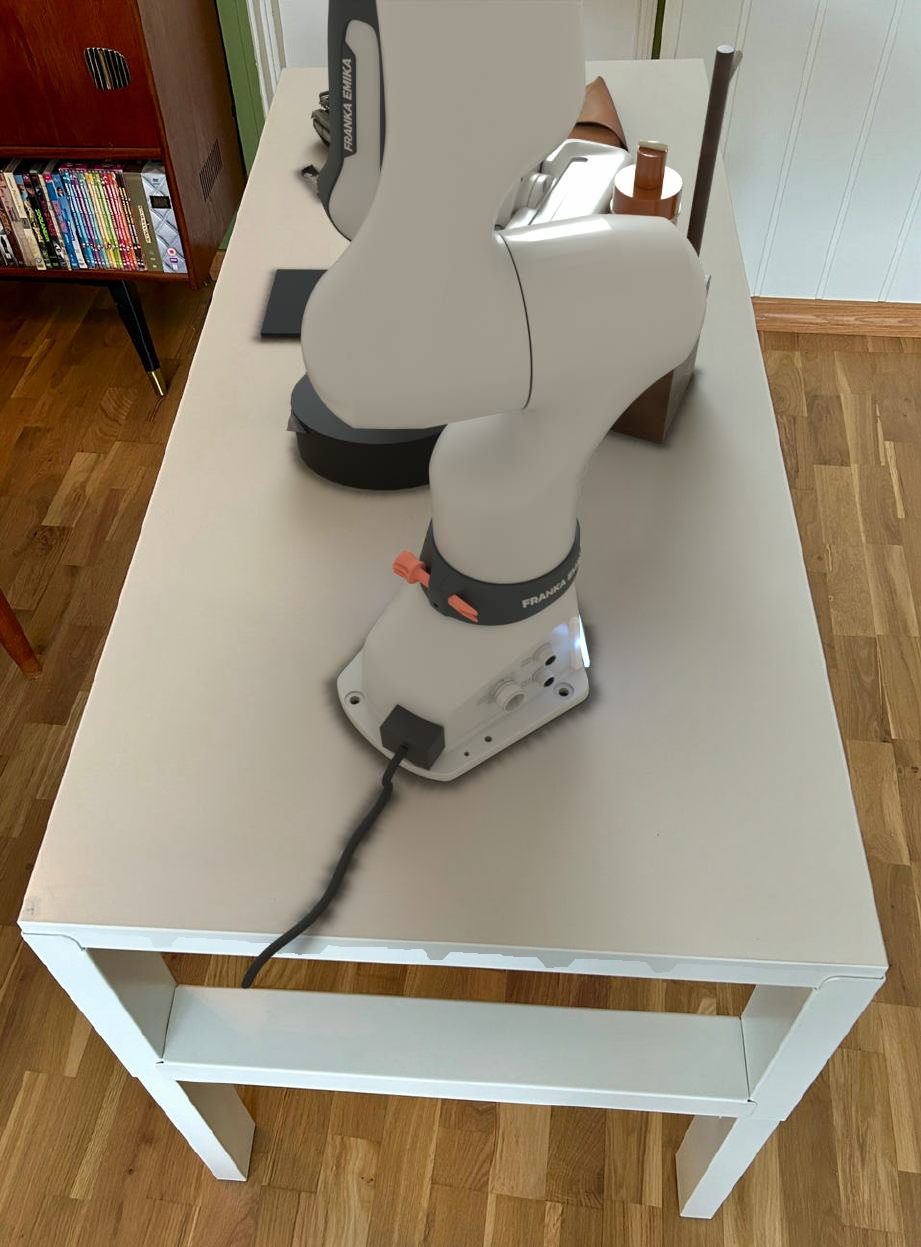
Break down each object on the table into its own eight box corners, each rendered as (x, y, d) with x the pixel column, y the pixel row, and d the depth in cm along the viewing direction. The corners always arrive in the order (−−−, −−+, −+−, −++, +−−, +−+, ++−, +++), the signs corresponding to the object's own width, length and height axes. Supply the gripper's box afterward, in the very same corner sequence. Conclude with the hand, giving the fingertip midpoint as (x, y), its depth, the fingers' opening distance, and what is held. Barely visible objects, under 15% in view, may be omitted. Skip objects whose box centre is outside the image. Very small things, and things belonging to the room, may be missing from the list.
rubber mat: (367, 338, 120) (366, 334, 119) (261, 337, 120) (260, 333, 120) (377, 274, 127) (377, 269, 126) (277, 273, 127) (276, 268, 127)
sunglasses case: (544, 101, 149) (571, 57, 145) (586, 123, 152) (613, 80, 148) (565, 170, 138) (594, 125, 134) (609, 192, 141) (639, 149, 137)
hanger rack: (549, 415, 111) (568, 61, 83) (587, 345, 118) (616, -4, 89) (661, 444, 108) (721, 87, 80) (693, 371, 115) (759, 18, 86)
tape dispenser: (460, 506, 105) (464, 449, 99) (281, 482, 106) (274, 424, 100) (479, 410, 114) (484, 353, 108) (314, 388, 115) (309, 331, 109)
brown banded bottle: (592, 308, 103) (606, 153, 90) (613, 271, 106) (628, 117, 94) (656, 323, 101) (679, 167, 88) (675, 285, 104) (699, 130, 92)
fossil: (300, 174, 141) (298, 168, 141) (313, 168, 141) (311, 162, 141) (323, 202, 137) (321, 196, 136) (336, 196, 137) (334, 190, 136)
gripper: (467, 234, 93) (620, 267, 89) (548, 120, 104) (686, 146, 101) (468, 295, 98) (613, 329, 95) (545, 180, 109) (677, 207, 106)
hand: (651, 233), depth 98 cm, fingers closed on brown banded bottle, 6 cm apart
